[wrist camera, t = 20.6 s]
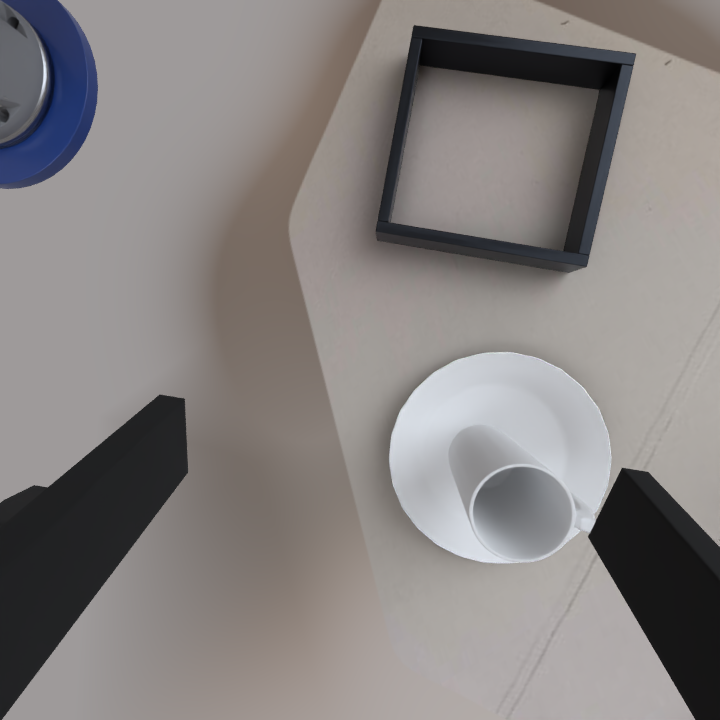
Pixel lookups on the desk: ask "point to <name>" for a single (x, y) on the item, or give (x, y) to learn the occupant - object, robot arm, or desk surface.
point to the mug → (513, 497)
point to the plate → (510, 415)
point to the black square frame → (524, 63)
